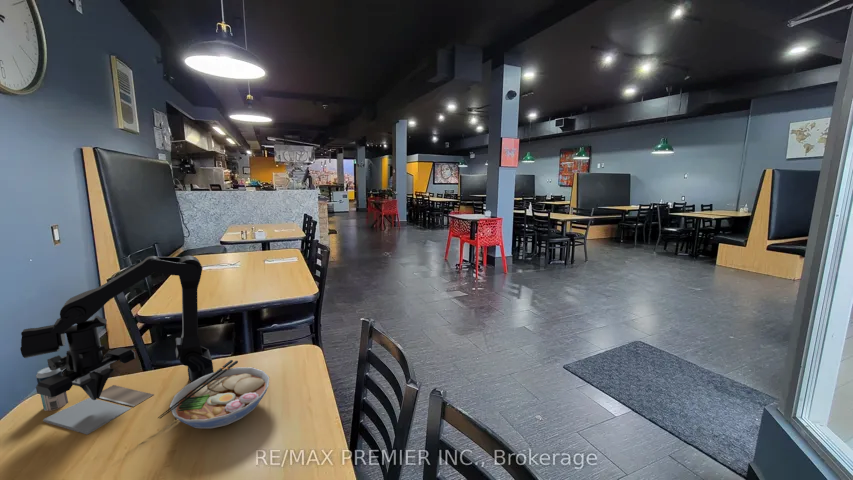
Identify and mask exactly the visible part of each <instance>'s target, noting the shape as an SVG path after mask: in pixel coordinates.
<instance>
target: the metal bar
mask: <svg viewBox="0 0 853 480" xmlns="http://www.w3.org/2000/svg"><path fill="white" fill-rule="evenodd" d="M153 396H155V394H153V393H150V392H146V391H141V390H137V389H133V388H128V387H125V386H124V387H123V386H119V385H116V384H113V385H111V386H109V387H107V388H105V389H103V390H102V393H101V395H100V397H99V398H98V400H102V401H106V402H110V403H114V404H117V405H121V406H125V407H129V408H134V407H136V406H138V405H140V404H142V403H144V401H146V400H148V399H149V398H151V397H153Z"/></svg>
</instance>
